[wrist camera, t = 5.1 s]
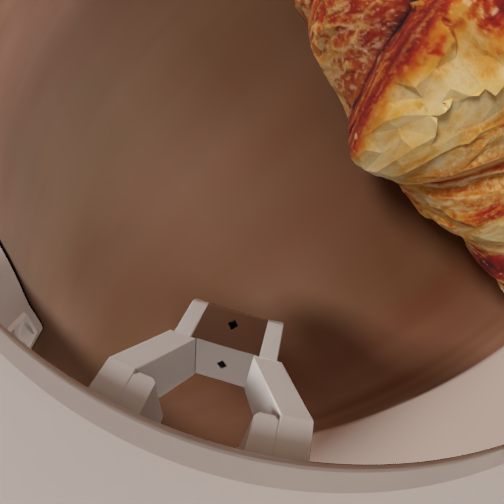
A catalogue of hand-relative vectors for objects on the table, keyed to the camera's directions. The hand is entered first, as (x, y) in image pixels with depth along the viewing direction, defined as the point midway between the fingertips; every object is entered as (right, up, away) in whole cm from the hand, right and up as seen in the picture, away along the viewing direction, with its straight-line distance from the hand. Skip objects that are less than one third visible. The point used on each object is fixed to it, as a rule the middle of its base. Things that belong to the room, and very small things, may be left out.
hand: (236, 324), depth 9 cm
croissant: (+8, +9, -1) cm, 12 cm away
